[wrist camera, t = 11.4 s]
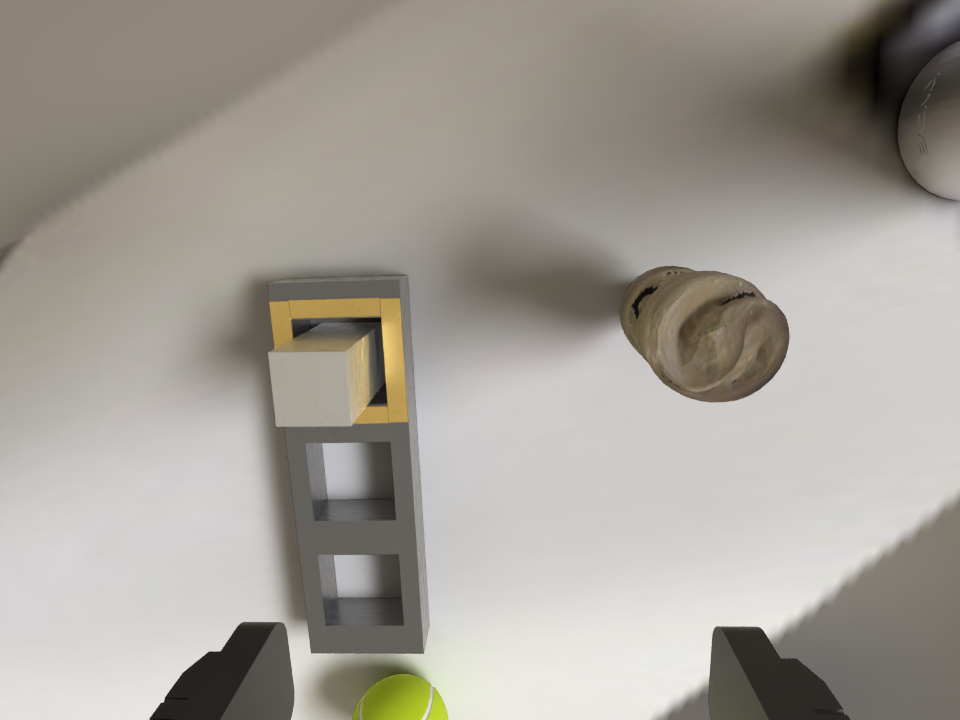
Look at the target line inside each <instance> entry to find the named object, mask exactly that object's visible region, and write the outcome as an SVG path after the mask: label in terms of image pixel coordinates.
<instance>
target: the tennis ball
mask: <svg viewBox="0 0 960 720" xmlns="http://www.w3.org/2000/svg"><path fill="white" fill-rule="evenodd" d="M352 720H448V715H447V710H446V707H445V704H444V702H443V700H442V698H441V696H440V694H439V693H438V691H437V690H436V689H435V688H434V687H432V686H431V684H430V683H429V682H427V681H426V680H424V679H422V678H420V677H418V676H414V675H410V674H396V675H392V676H388V677H386V678H383V679H381V680H380V681H378V682H377V683H375V684H374V685H372V686H371V687H370V688H369V689H368V690H367V691H366V692H365V694H364V695H363V696H362V698H361V699H360V701H359V703H358V705H357V707H356V709H355V712H354V715H353V718H352Z"/></svg>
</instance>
